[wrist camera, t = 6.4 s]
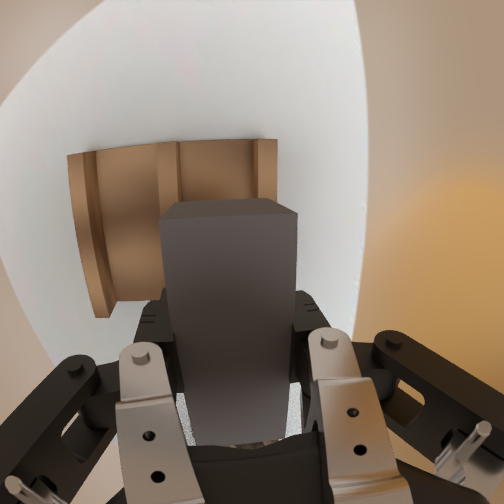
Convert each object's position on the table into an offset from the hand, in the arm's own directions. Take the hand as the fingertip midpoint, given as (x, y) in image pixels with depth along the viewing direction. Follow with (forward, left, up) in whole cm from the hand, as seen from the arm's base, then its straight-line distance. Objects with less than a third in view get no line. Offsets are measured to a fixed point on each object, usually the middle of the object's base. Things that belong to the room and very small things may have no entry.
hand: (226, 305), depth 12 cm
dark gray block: (0, 0, -1) cm, 1 cm away
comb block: (0, +3, -11) cm, 12 cm away
